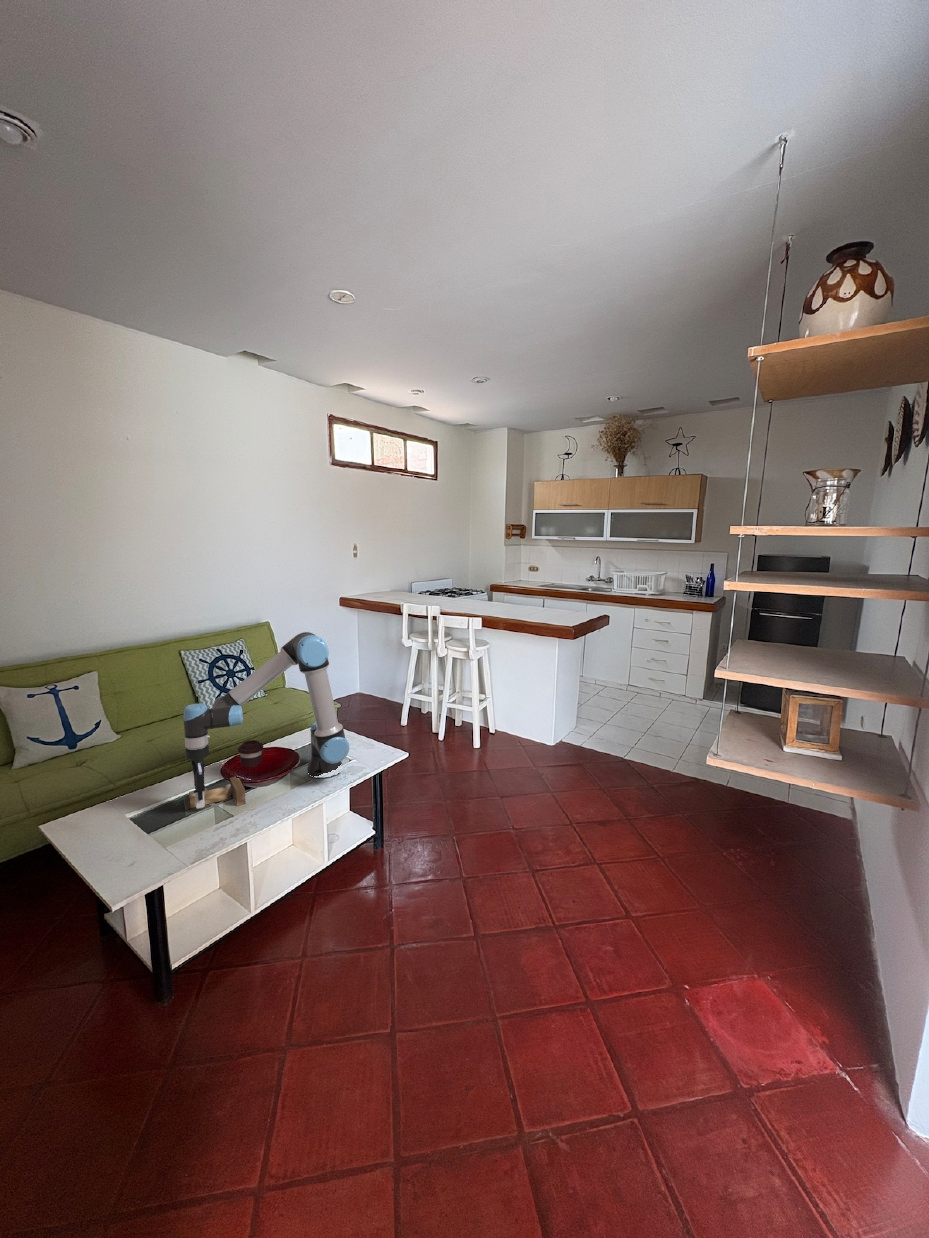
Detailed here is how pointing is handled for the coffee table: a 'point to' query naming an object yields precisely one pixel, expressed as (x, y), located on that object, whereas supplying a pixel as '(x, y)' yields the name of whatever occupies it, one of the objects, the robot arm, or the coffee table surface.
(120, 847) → the coffee table surface
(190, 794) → the leg rest
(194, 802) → the folding leg
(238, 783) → the curved wooden block
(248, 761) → the coffee cup
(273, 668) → the robot arm
